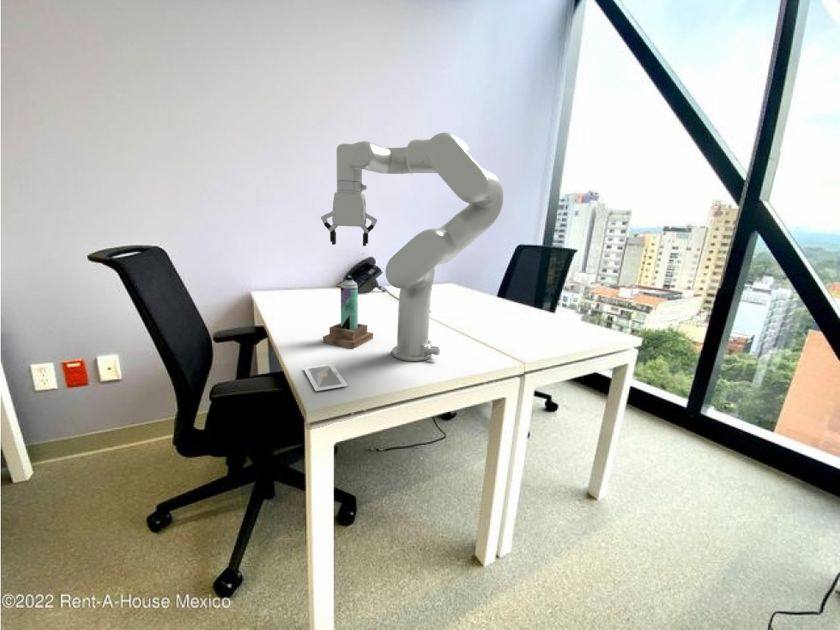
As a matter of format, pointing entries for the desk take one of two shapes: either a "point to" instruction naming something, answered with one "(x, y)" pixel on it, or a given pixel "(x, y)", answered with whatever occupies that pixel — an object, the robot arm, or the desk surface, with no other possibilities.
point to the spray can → (349, 304)
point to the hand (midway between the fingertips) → (349, 245)
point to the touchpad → (324, 377)
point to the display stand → (348, 336)
